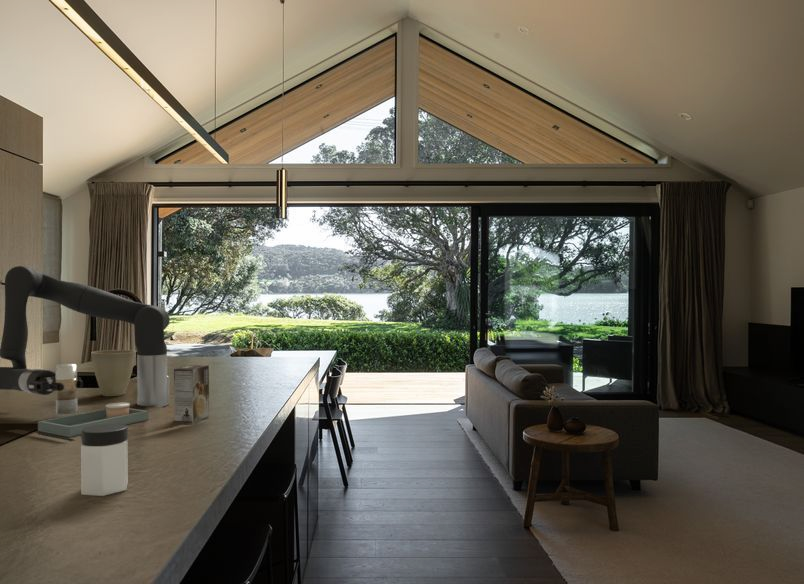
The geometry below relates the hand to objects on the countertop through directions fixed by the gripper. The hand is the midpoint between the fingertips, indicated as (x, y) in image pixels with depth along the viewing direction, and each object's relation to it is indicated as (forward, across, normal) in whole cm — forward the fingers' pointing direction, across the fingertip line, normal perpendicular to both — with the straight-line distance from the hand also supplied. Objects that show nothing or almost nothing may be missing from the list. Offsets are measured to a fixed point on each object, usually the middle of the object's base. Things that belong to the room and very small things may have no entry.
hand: (71, 385), depth 183 cm
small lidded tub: (+14, +5, +10) cm, 18 cm away
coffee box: (+30, +18, +11) cm, 37 cm away
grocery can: (-2, 0, +8) cm, 8 cm away
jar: (+64, -34, +11) cm, 74 cm away
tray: (+14, -2, +11) cm, 18 cm away
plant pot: (-31, +36, +11) cm, 48 cm away
